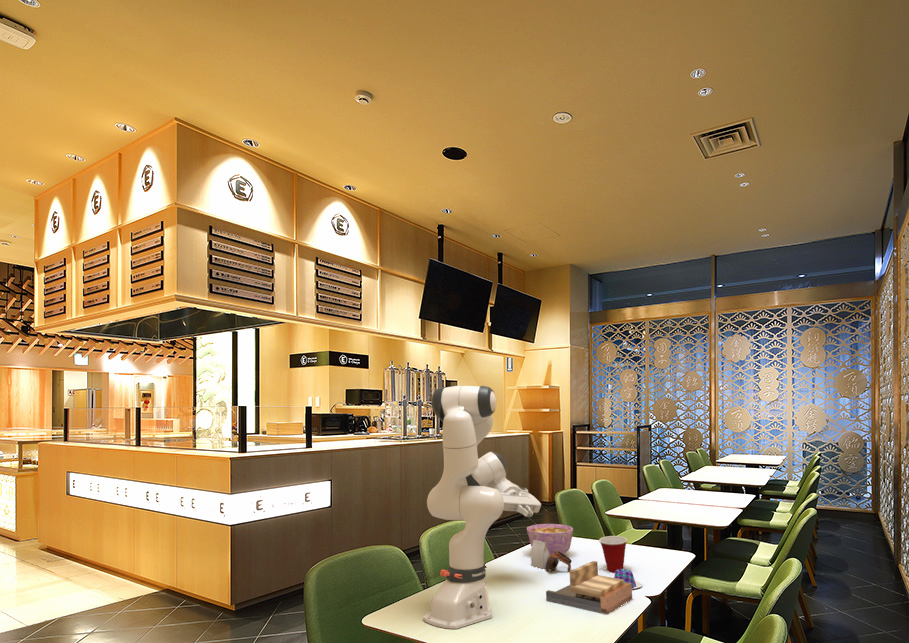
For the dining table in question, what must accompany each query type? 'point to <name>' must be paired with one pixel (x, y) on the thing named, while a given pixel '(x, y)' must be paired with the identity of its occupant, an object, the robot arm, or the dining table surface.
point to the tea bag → (539, 554)
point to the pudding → (627, 577)
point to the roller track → (604, 606)
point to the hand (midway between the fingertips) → (529, 514)
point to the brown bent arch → (557, 561)
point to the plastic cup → (613, 551)
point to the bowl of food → (552, 536)
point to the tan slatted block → (591, 582)
